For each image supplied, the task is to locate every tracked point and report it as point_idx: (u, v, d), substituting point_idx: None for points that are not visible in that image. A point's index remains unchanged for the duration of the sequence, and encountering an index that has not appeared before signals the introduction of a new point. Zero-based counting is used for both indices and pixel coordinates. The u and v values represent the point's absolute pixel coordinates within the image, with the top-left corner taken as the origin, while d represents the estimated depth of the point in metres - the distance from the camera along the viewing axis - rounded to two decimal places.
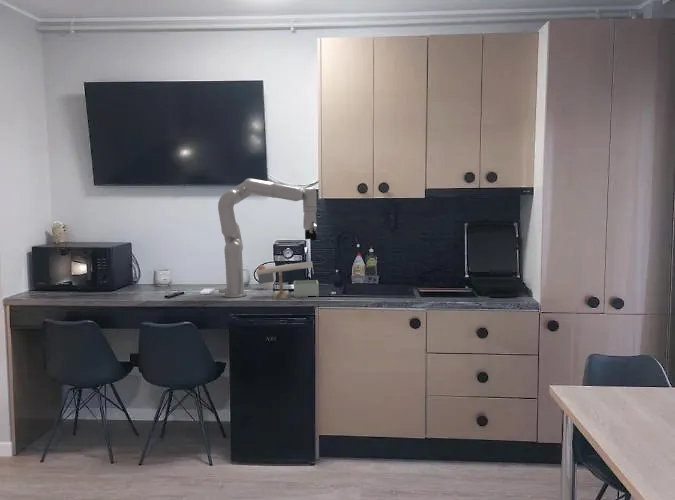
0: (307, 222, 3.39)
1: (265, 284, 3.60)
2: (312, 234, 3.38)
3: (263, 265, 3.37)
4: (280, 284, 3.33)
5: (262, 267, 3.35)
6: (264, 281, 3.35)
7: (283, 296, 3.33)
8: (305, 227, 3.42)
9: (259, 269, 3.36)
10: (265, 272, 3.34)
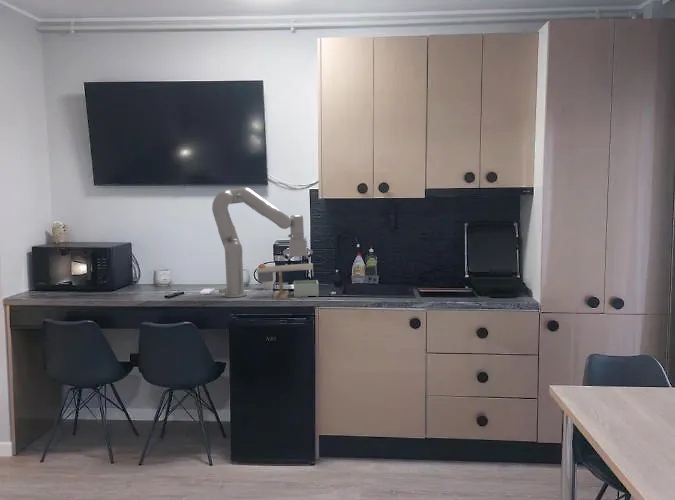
0: (303, 248, 3.45)
1: (265, 284, 3.60)
2: (307, 259, 3.48)
3: (263, 264, 3.37)
4: (280, 284, 3.33)
5: (262, 266, 3.35)
6: (263, 280, 3.35)
7: (283, 296, 3.33)
8: (297, 254, 3.45)
9: None
10: (265, 271, 3.34)
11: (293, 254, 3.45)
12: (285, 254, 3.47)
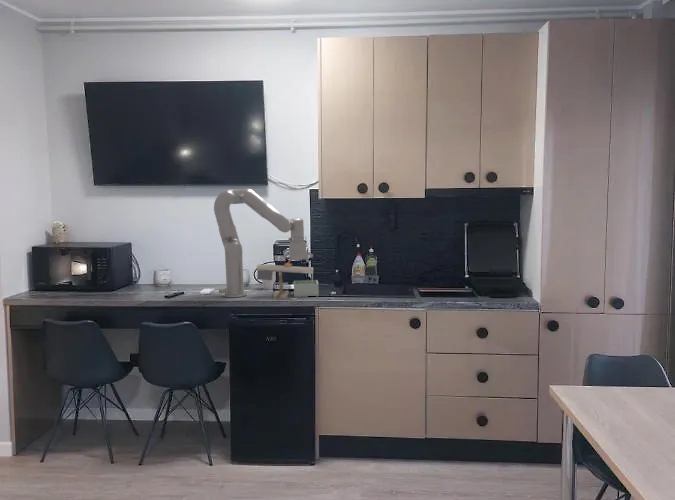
0: (303, 252, 3.45)
1: (265, 284, 3.60)
2: (308, 263, 3.48)
3: None
4: (280, 284, 3.33)
5: (289, 266, 3.36)
6: (262, 278, 3.35)
7: (283, 296, 3.33)
8: (297, 257, 3.45)
9: (285, 265, 3.37)
10: (265, 269, 3.34)
11: (293, 258, 3.45)
12: (285, 257, 3.47)
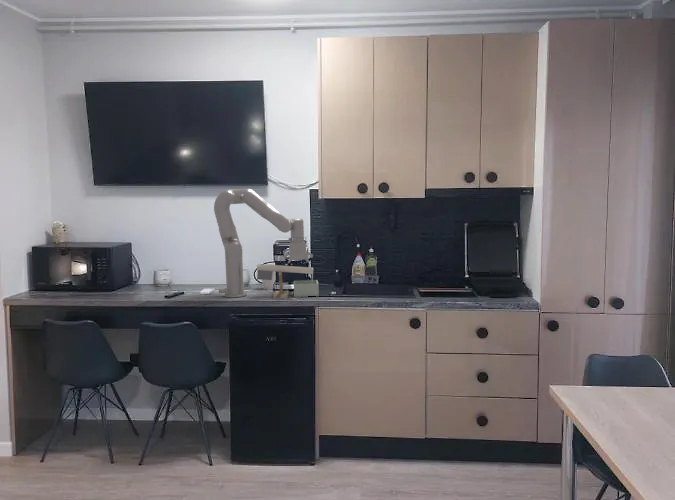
0: (303, 252, 3.45)
1: (265, 284, 3.60)
2: (308, 263, 3.48)
3: None
4: (280, 284, 3.33)
5: None
6: (262, 278, 3.35)
7: (283, 296, 3.33)
8: (297, 257, 3.45)
9: None
10: (265, 269, 3.34)
11: (293, 258, 3.45)
12: (285, 258, 3.47)
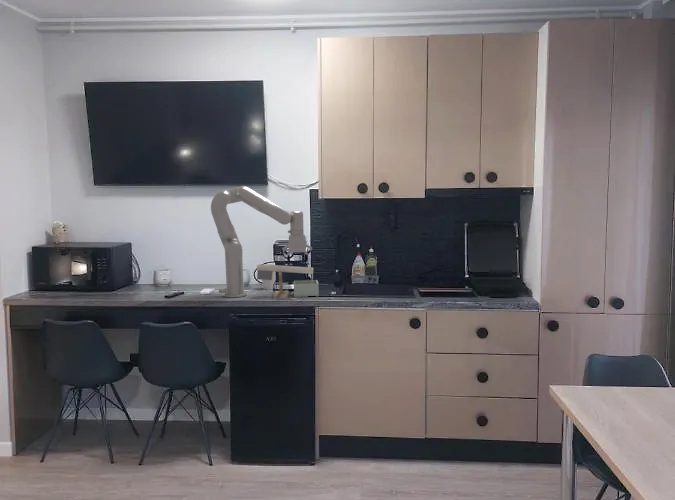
0: (302, 245, 3.45)
1: (265, 284, 3.60)
2: (307, 256, 3.48)
3: None
4: (280, 284, 3.33)
5: None
6: (262, 278, 3.35)
7: (283, 296, 3.33)
8: (296, 250, 3.45)
9: None
10: (265, 269, 3.34)
11: (292, 250, 3.45)
12: (284, 250, 3.47)
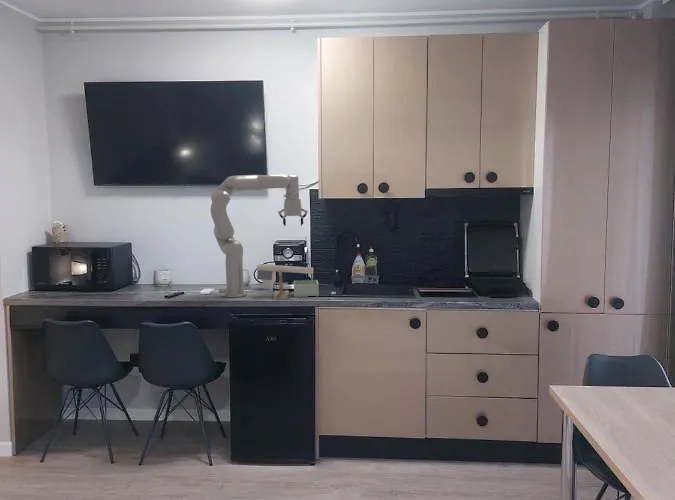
0: (297, 208, 3.51)
1: (265, 284, 3.60)
2: (302, 219, 3.53)
3: None
4: (280, 284, 3.33)
5: None
6: (262, 278, 3.35)
7: (283, 296, 3.33)
8: (292, 213, 3.51)
9: None
10: (265, 269, 3.34)
11: (288, 213, 3.50)
12: (280, 214, 3.52)
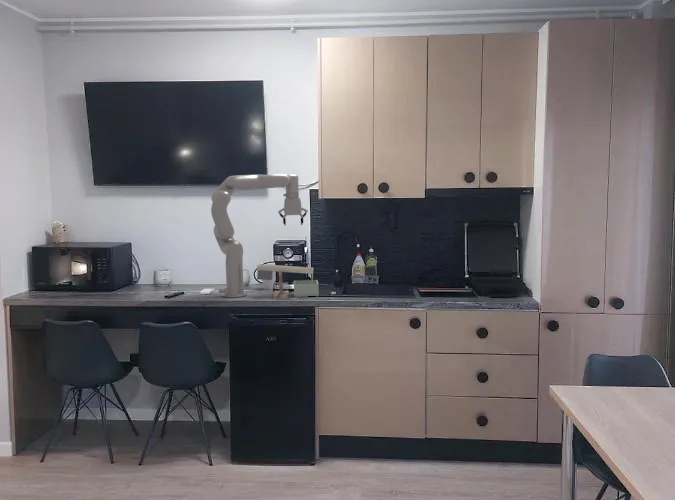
0: (297, 207, 3.51)
1: (265, 284, 3.60)
2: (302, 218, 3.54)
3: None
4: (280, 284, 3.33)
5: None
6: (262, 278, 3.35)
7: (283, 296, 3.33)
8: (292, 213, 3.51)
9: None
10: (265, 269, 3.34)
11: (288, 213, 3.51)
12: (280, 213, 3.53)
